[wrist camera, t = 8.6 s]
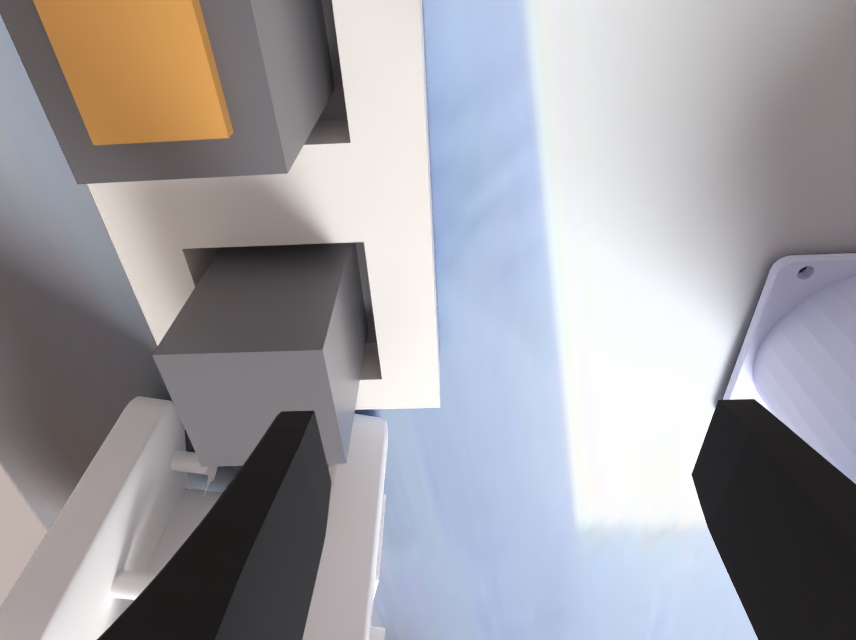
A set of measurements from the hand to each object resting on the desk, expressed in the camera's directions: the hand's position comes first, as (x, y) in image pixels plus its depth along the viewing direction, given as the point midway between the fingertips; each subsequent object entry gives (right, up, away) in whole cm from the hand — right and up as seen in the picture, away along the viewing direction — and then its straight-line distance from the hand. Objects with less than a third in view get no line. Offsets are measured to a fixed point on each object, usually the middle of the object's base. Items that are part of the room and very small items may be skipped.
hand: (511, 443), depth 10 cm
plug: (-6, +10, +4) cm, 12 cm away
